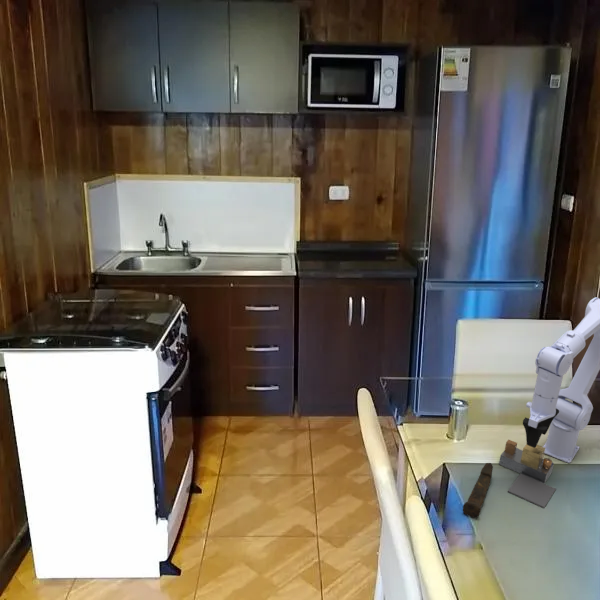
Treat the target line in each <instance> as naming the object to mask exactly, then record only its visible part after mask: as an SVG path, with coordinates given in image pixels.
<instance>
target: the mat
mask: <svg viewBox="0 0 600 600" xmlns="http://www.w3.org/2000/svg"><path fill="white" fill-rule="evenodd" d="M556 490H557V489H556V488H555V487H553V486H551V485H549V484H546V483H545V484H544V483H542V482H539V481H537V480H535V479H532V478H530V477H528V476H525V475H523V474H520V473H519V475H518V476H517V478H516V479H515V481H513V483H512V485H511V486H510V487H509V488H508V490H507V493H509V494H511V495H514V496H515V497H518V498H520V499H522V500H525V501H527V502H529V503H531V504H533V505H536V506H537V507H540V508H542V509H545V507H546V506H547V505H548V503H549V501H550V500H551V499H552V497H553V495H554V493H555V492H556Z"/></svg>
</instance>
